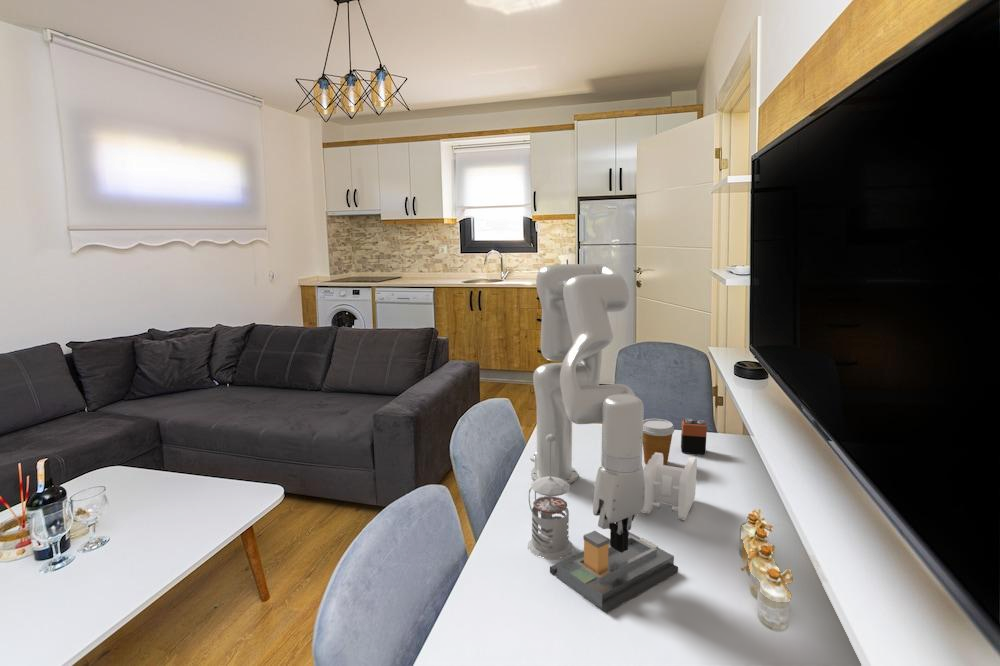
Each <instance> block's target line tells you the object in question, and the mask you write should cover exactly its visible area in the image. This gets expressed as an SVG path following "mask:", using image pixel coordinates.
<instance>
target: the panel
mask: <svg viewBox="0 0 1000 666" xmlns="http://www.w3.org/2000/svg"><path fill="white" fill-rule="evenodd" d="M628 532H629V533H628V550H626V551H624V552H622V553H621V552H619V551H617V550H616V549H614V548H612V547H611V546H610V538H609V548H608V570H607V571H605V572H603V573H601V574H598V573H596V572H595V571H593V570H592V569H590V568H589V567H587V566H586V565H584V550H583V551H581V552H578V553H576V554H575V555H572V556H570V557H568V558H566V559H563V560H561V561H559V562H557V563H556V564H557V574H556V578H557V579H559V580H560V581H561V582H562V583H564V584H565V585H567V586H569V588H571V589H573V590H574V591H575V592H576V593H578V594H580V595H581V596H582V597H583V598H585V599H586V600H587V601H589V602H590V603H592V604H593V605H595V606H596V607H597V608H598V609H600V610H601V611H603V610H602V603H604V602H606V601H608V600H610V599H612V598H613V597H615V596H617V595H619V594H621V593H623V592H624V591H626V590H628V589H630V588H632V587H633V586H635V585H637V584H639V583H641V582H643V581H644V580H646V579H648V578H650V577H652V576H654V575H655V574H657V573H659V572H661V571H663V570H664V569H666V568H668V567H670V566H672V565H675V562H674V561H675V556H674V555H672V554H670V553H669V552H667V551H665V550H663V549H661V548H660V547H659V545H657V544H655V543H653V542H652V541H649V540H648V539H646V538H644V537H640V536H638V535H635V534H634V533H632V532H631V531H630V530H629V531H628Z"/></svg>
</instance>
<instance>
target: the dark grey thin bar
mask: <svg viewBox="0 0 1000 666" xmlns="http://www.w3.org/2000/svg"><path fill="white" fill-rule="evenodd" d="M678 573H679V566H677V565H676V564H674V565H672V566H670V567H668V568H666V569H664V570H663V571H661V572H659V573H657V574H655V575H654V576H652V577H650V578H648V579H646V580H644V581H643V582H641V583H639V584H637V585H635V586H633V587H632V588H630V589H628V590H626V591H624V592H623V593H621V594H619V595H617V596H615V597H613V598H612V599H610V600H608V601H606V602H604V603H602V610H601V611H603V612H604V613H606V614H607V613H610V612H612V611H613V610H615V609H617V608H618V607H620V606H622V605H623V604H625V603H627V602H628V601H630V600H632V599H634V598H636V597H637V596H639V595H640V594H643V593H645V592H646V591H648V590H650V589H652V588H654V587H655V586H657V585H658V583H659V584H661V583H662V582H664V581H666V580H667V579H669V578H671V577H672V576H674V575H676V574H678ZM660 582H661V583H660Z"/></svg>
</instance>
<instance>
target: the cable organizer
mask: <svg viewBox="0 0 1000 666" xmlns="http://www.w3.org/2000/svg"><path fill="white" fill-rule="evenodd" d="M697 466H698V460H697V458H696V457H692V456H690V457H688V460H687V461H686V464H685V466H684V468H682V467H676V466H671V465H667V466H666V465H663V454H662V453H657V452H655V453H654V455H652V458H651V459H649V461H648V463H647V464H645V466H643V472H644V483H645V500H644V507H643V509H642V510H641V512H640V513H644V514H650V513H651V511H652V510H653V508H654V507H658V510H660V508H661V503H662V504H667V505H670V506H671V512H674V511H677V519H679V520H683V521H686V519H687V517H688V515H689V512H690V510H691V508H692V507H693V506H692V505H693V503H694V501H695V499H696V498H695V497H696V490H697V489H696V487H697V486H696V485H697V471H698V469H697V468H698V467H697Z"/></svg>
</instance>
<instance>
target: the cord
mask: <svg viewBox="0 0 1000 666" xmlns="http://www.w3.org/2000/svg"><path fill="white" fill-rule="evenodd" d="M549 573H550V574H552V575H553V576H555V575H557V563H555V564H552V565H551V566H549Z"/></svg>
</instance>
